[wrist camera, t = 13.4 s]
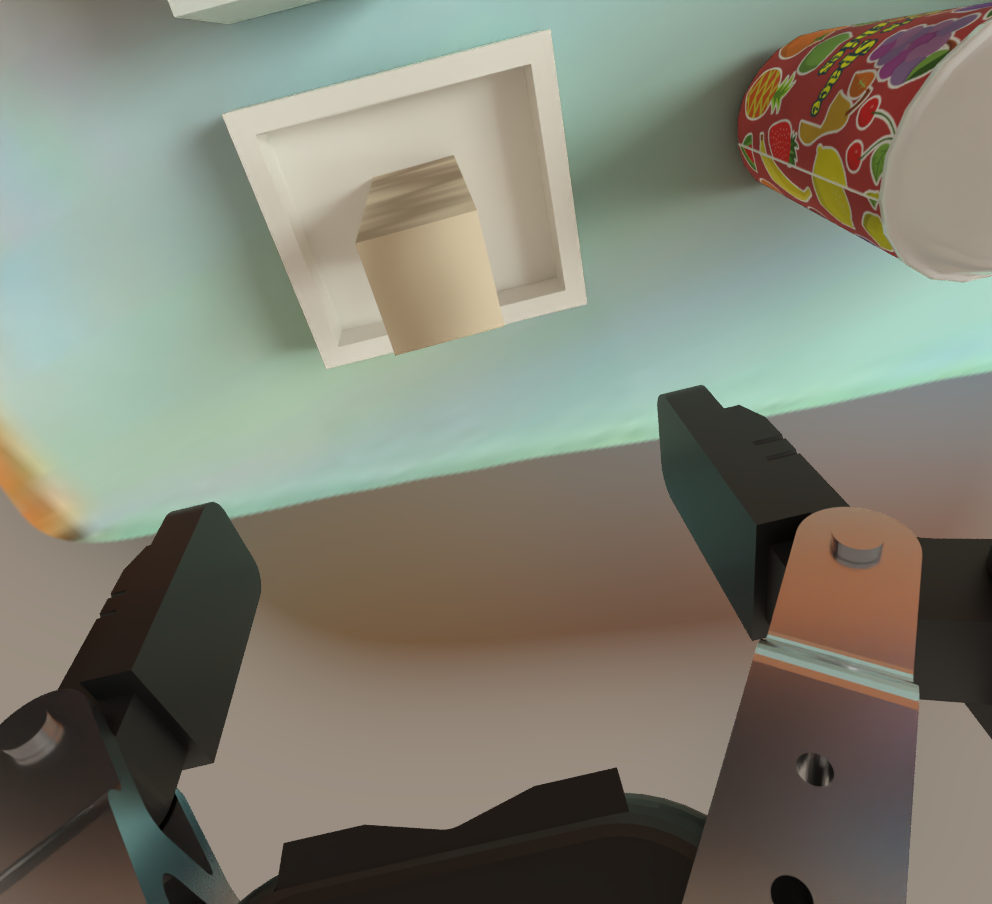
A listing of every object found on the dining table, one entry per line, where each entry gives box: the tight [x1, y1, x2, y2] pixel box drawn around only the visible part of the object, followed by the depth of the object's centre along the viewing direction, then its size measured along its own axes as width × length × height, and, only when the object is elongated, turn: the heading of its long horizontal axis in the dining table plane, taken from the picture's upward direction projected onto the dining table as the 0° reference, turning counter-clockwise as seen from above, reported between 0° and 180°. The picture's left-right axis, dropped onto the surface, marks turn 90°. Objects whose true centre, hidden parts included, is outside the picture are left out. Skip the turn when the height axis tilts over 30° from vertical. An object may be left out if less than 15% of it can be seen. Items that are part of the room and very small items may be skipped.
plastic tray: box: [222, 29, 587, 369], centre depth 30 cm, size 14×12×3 cm
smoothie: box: [738, 2, 992, 282], centre depth 23 cm, size 8×8×20 cm
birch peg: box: [355, 155, 505, 355], centre depth 26 cm, size 4×4×12 cm
